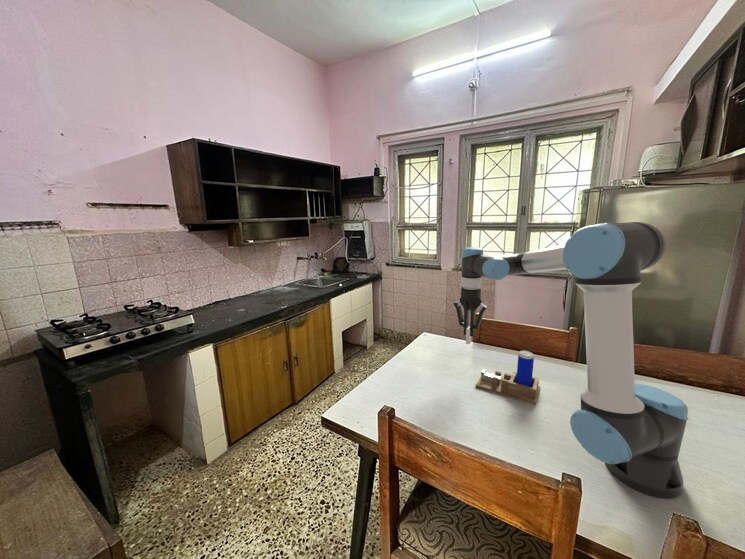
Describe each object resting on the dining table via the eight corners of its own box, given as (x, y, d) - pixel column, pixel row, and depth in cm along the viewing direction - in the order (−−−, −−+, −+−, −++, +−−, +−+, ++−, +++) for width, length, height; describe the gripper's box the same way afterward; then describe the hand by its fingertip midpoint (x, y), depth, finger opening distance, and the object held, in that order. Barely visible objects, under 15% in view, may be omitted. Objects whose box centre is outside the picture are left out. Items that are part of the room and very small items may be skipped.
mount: (535, 405, 104) (536, 392, 103) (475, 387, 116) (476, 375, 115) (539, 388, 114) (541, 376, 113) (483, 373, 126) (484, 362, 125)
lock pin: (499, 384, 115) (499, 377, 115) (480, 379, 119) (481, 372, 119) (500, 381, 118) (501, 373, 117) (482, 376, 122) (483, 369, 121)
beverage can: (527, 386, 114) (530, 350, 111) (533, 394, 109) (536, 356, 106) (513, 385, 115) (516, 350, 111) (518, 393, 110) (521, 356, 106)
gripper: (490, 286, 115) (487, 342, 120) (457, 283, 122) (456, 336, 128) (485, 291, 109) (482, 350, 114) (451, 287, 116) (449, 342, 122)
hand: (468, 342), depth 121 cm, fingers closed
